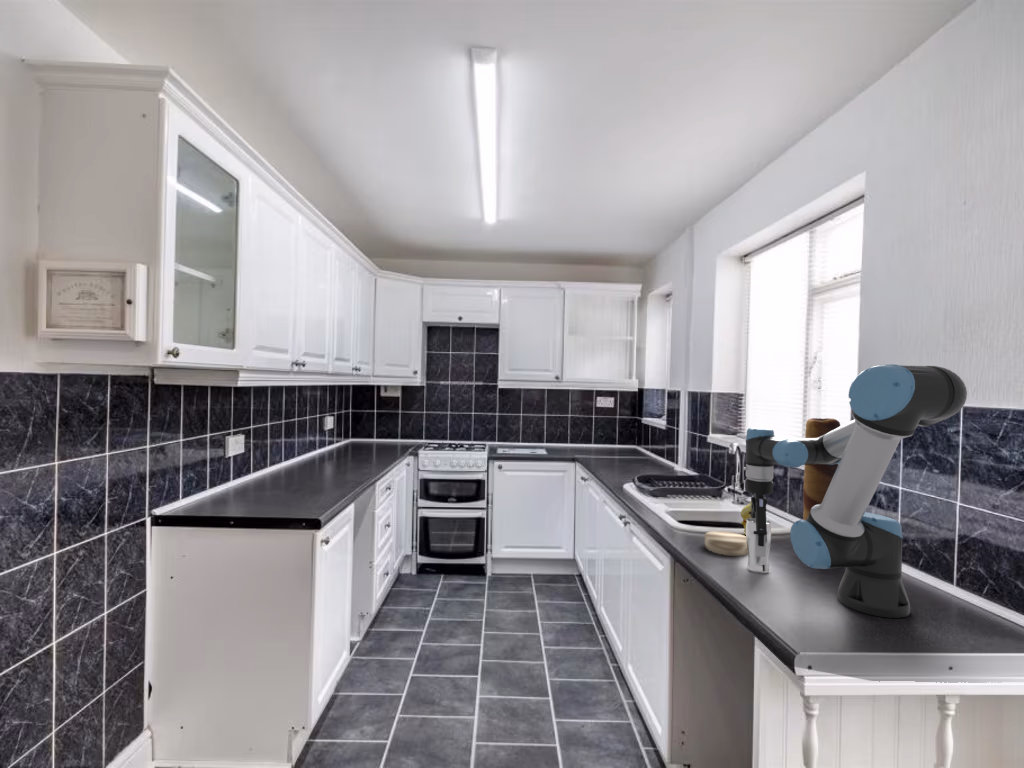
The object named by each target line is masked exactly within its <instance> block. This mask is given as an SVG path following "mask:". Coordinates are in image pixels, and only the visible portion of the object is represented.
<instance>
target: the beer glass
mask: <svg viewBox="0 0 1024 768" xmlns="http://www.w3.org/2000/svg"><path fill="white" fill-rule="evenodd" d="M771 524H772V522H771V521H770V520H768V519H766V525H767V535H766V557H758V556H755V534H753V533H754V531H756V519H755V518H748V519H747V523H746V542H747V548H748V554H747V555H748V560H747V566H746V569H747V571H749V572H751V573H754V574H759V575H760V574H761V575H764V574H765V575H766V574H768V573H770V567H769V555H770V550H771V549H770V548H771V545H772V543H771V542H772V525H771ZM759 530H762V529H759Z"/></svg>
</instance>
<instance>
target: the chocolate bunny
mask: <svg viewBox="0 0 1024 768" xmlns="http://www.w3.org/2000/svg"><path fill="white" fill-rule="evenodd" d="M750 515H751V501H750V502H749V503H748V504H747V505H745V506H744V507H743V508H742V509H741V510H740V516H741V518H742V521H741V525H742V526H743V528H744V530H743V533H744V532H745V533H744V534H745V535H746V523H747V519H748V518H751V516H750ZM744 534H743V535H744ZM745 535H744V536H745Z"/></svg>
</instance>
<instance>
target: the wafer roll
mask: <svg viewBox="0 0 1024 768" xmlns="http://www.w3.org/2000/svg"><path fill="white" fill-rule="evenodd" d="M840 426H841V422H840V421H839V420H837V419H836V418H829V417H826V418H817V417H816V418H815V417H814V418H813V417H812V418H809V419H807V420H806V422H805V432H804V433H805V436H804V438H818V437H821V436H823V435H825V434H827V433H828V432H830V431H832V430H834V429H836V428H838V427H840ZM838 465H839V464H833V465H804V470H803V471H804V474H803V487H802V488H803V489H802V492H803V493H802V495H803V496H802V499H803V504H802V505H803V506H802V507H803V513H802V514H803V516H802V517H803V518H802V520H806V519H807V517H808V515H809V513H810V511H811V508H812V507H813V506H815V505H817V504H821V503H822V501H823V499H824V497H825V494H826V492H827V490H828V488H829V485H830V483H831V481H832V478H833V476H834V474H835V472H836V469H837V467H838Z"/></svg>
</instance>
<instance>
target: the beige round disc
mask: <svg viewBox="0 0 1024 768" xmlns="http://www.w3.org/2000/svg"><path fill="white" fill-rule="evenodd" d="M704 548H705V549H706V550H707V549H708V550H707V551H710V552H711V551H712V553H714V554H718V555H722V554H723V556H728V557H729V556H731V557H732V556H733V557H739V556H740V557H742V556H747V555H748V548H747V542H746V536H745V535H744V534H740V533H736V532H732V531H724V530H722V531H721V530H713V531H708V532H705V534H704Z"/></svg>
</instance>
